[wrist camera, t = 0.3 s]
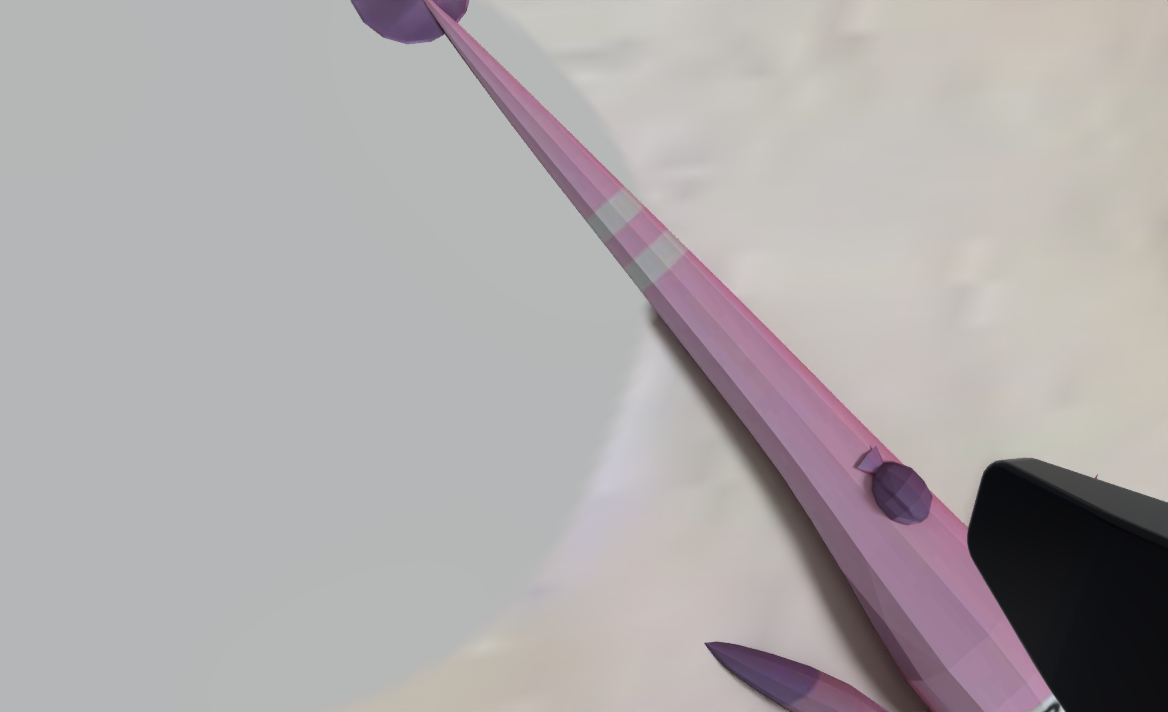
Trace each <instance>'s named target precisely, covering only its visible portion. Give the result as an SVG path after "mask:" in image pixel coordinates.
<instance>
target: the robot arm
mask: <svg viewBox="0 0 1168 712" xmlns="http://www.w3.org/2000/svg"><path fill="white" fill-rule="evenodd" d="M967 545H968V550H969V553H970V556H971V558H972V560H973V562H974V564H975V566H976V567H977V569H978V571H979V572H980V574H981V576H982V577H983V579H984V581H985V583H986V584H987V586H988V588H989V589H990V591H991V593H992V594H993V596H994V598H995V599H996V601H997V603H998V605H999V606H1000V608H1001V610H1002V611H1003V613H1004V615H1005V616H1006V618H1007V620H1008V621H1009V623H1010V625H1011V626H1012V628H1013V630H1014V632H1015V633H1016V635H1017V637H1018V638H1019V640H1020V642H1021V643H1022V645H1023V647H1024V648H1025V650H1026V652H1027V654H1028V655H1029V657H1030V659H1031V660H1032V662H1033V664H1034V665H1035V667H1036V669H1037V670H1038V672H1039V673H1040V675H1041V677H1042V678H1043V680H1044V681H1045V683H1046V685H1047V686H1048V688H1049V689H1050V691H1051V692H1052V694H1053V695H1054V697H1055V698H1056V700H1057V701H1058V702H1059V704H1060V705H1061V707H1062V708H1063V710H1064V711H1065V712H1168V502H1165V501H1161V500H1158V499H1155V498H1152V497H1149V496H1146V495H1143V494H1140V493H1137V492H1134V491H1131V490H1128V489H1125V488H1122V487H1119V486H1116V485H1113V484H1110V483H1107V482H1104V481H1101V480H1098V479H1095V478H1092V477H1089V476H1086V475H1083V474H1080V473H1077V472H1074V471H1071V470H1068V469H1065V468H1062V467H1059V466H1056V465H1053V464H1050V463H1047V462H1044V461H1041V460H1038V459H1034V458H1017V459H1007V460H999V461H995V462H993V463H991V464H990V465H989V466H988V467H987V468H986V470H985V471H984V473H983V476H982V479H981V482H980V486H979V490H978V493H977V497H976V501H975V505H974V508H973V512H972V516H971V520H970V523H969V527H968V532H967Z"/></svg>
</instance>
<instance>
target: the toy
mask: <svg viewBox="0 0 1168 712" xmlns="http://www.w3.org/2000/svg"><path fill="white" fill-rule="evenodd" d="M351 3H352V4H353V6H354V8H355V9H356V11H357V13H358V14H359V16H360V18H361V19H362V21H363V23H365V24H366V25H368V26H369V27H370V28H371V29H373V30H374V31H375V32H376V33H378V34H379V35H381V36H382V37H383V38H386V39H390V40H393V41H397V42H400V43H404V44H416V43H425V42H432V41H434V40H435V39H437V38H439V37H441V36H443V35H444V34H445V35H446V37H447V38H448V39H449V41H450V42H451V43H452V45H453V46H454V48H455V49H456V50H457V52H458V53H459V54H460V56H461V57H462V59H463V60H464V61H465V63H466V64H467V65H468V67H469V68H470V70H471V71H472V72H473V74H474V75H475V76H476V78H477V79H478V80H479V82H480V83H481V84H482V86H483V87H484V88H485V90H486V91H487V92H488V94H489V95H490V97H491V98H492V99H493V100H494V102H495V103H496V105H497V106H498V107H499V109H500V110H501V111H502V113H503V114H504V115H505V116H506V118H507V119H508V121H509V122H510V123H511V125H512V126H513V127H514V128H515V130H516V131H517V132H518V134H519V135H520V136H521V138H522V139H523V140H524V142H525V143H526V144H527V145H528V147H529V148H530V149H531V151H532V152H533V153H534V155H535V156H536V157H537V158H538V160H539V161H540V163H541V164H542V165H543V166H544V168H545V169H546V170H547V172H548V173H549V174H550V175H551V177H552V178H553V179H554V180H555V182H556V183H557V184H558V186H559V187H560V188H561V189H562V191H563V192H564V193H565V194H566V196H567V197H568V198H569V200H570V201H571V202H572V203H573V205H574V206H575V207H576V209H577V210H578V211H579V213H580V214H581V215H582V216H583V218H584V219H585V220H586V221H587V223H588V224H589V225H590V227H591V228H592V229H593V230H594V231H595V233H596V234H597V236H598V237H599V238H600V239H601V241H602V242H603V243H604V244H605V246H606V247H607V248H608V250H609V251H610V252H611V253H612V254H613V256H614V257H615V258H616V260H617V261H618V262H619V263H620V265H621V266H622V267H623V269H624V270H625V271H626V273H627V274H628V275H629V276H630V278H631V279H632V280H633V281H634V283H635V284H636V285H637V286H638V288H639V289H640V291H641V292H642V293H643V294H644V296H645V297H646V298H647V300H648V301H649V302H650V303H651V305H652V306H653V307H654V309H655V310H656V311H657V312H658V314H659V315H660V316H661V318H662V319H663V320H664V321H665V323H666V324H667V325H668V327H669V328H670V329H671V330H672V332H673V333H674V334H675V336H676V337H677V338H678V339H679V341H680V342H681V343H682V345H683V346H684V347H685V348H686V350H687V351H688V352H689V354H690V355H691V356H692V357H693V359H694V360H695V361H696V363H697V364H698V365H699V366H700V368H701V369H702V370H703V372H704V373H705V374H706V375H707V377H708V378H709V379H710V381H711V382H712V383H713V384H714V386H715V387H716V388H717V390H718V391H719V392H720V393H721V395H722V396H723V397H724V399H725V400H726V401H727V403H728V404H729V405H730V406H731V408H732V409H733V410H734V412H735V413H736V414H737V416H738V417H739V418H740V420H741V421H742V422H743V423H744V425H745V426H746V427H747V429H748V430H749V431H750V433H751V434H752V435H753V437H754V438H755V439H756V441H757V442H758V443H759V445H760V446H761V448H762V449H763V450H764V452H765V453H766V454H767V456H768V457H769V458H770V460H771V461H772V463H773V464H774V465H775V467H776V468H777V469H778V471H779V472H780V473H781V475H782V476H783V478H784V479H785V481H786V482H787V484H788V485H789V487H790V488H791V490H792V492H793V493H794V495H795V496H796V498H797V499H798V501H799V502H800V504H801V505H802V507H803V508H804V510H805V512H806V513H807V515H808V516H809V518H810V519H811V521H812V522H813V524H814V526H815V527H816V529H817V531H818V532H819V534H820V536H821V537H822V539H823V540H824V542H825V544H826V545H827V547H828V549H829V550H830V552H831V554H832V555H833V557H834V559H835V560H836V562H837V563H838V565H839V567H840V568H841V570H842V572H843V574H844V575H845V577H846V579H847V581H848V582H849V584H850V586H851V587H852V589H853V591H854V593H855V594H856V596H857V598H858V600H859V601H860V603H861V605H862V607H863V608H864V610H865V612H866V614H867V615H868V617H869V619H870V621H871V622H872V624H873V626H874V627H875V629H876V631H877V632H878V634H879V636H880V637H881V639H882V641H883V642H884V644H885V646H886V647H887V649H888V651H889V652H890V654H891V656H892V657H893V659H894V661H895V663H896V664H897V666H898V668H899V669H900V671H901V673H902V674H903V676H904V678H905V679H906V681H907V682H908V683H909V684H910V686H911V687H912V688H913V689H914V690H915V692H916V693H917V694H918V695H919V696H920V698H921V699H922V700H923V701H924V702H925V704H926V705H927V706H928V707H929V708H930V710H931V711H932V712H1065V711H1064V710H1063V708H1062V707H1061V705H1060V704H1059V702H1058V701H1057V700H1056V698H1055V697H1054V695H1053V694H1052V692H1051V691H1050V689H1049V688H1048V686H1047V685H1046V683H1045V681H1044V680H1043V678H1042V677H1041V675H1040V673H1039V672H1038V670H1037V669H1036V667H1035V665H1034V664H1033V662H1032V660H1031V659H1030V657H1029V655H1028V654H1027V652H1026V650H1025V648H1024V647H1023V645H1022V643H1021V642H1020V640H1019V638H1018V637H1017V635H1016V633H1015V632H1014V630H1013V628H1012V626H1011V625H1010V623H1009V621H1008V620H1007V618H1006V616H1005V615H1004V613H1003V611H1002V610H1001V608H1000V606H999V605H998V603H997V601H996V599H995V598H994V596H993V594H992V593H991V591H990V589H989V588H988V586H987V584H986V583H985V581H984V579H983V577H982V576H981V574H980V572H979V571H978V569H977V567H976V566H975V564H974V562H973V560H972V558H971V556H970V553H969V550H968V545H967V532H968V527H967V526H966V525H965V524H964V523H963V522H962V521H960V520H959V519H958V518H957V517H956V516H955V515H954V514H953V513H952V512H951V511H950V510H949V509H948V508H947V507H946V506H945V505H944V504H943V503H942V502H941V501H940V500H939V499H938V498H937V497H936V496H935V495H934V494H933V493H932V492H931V491H930V490H929V489H928V487H927V485H926V484H925V482H924V480H923V479H922V478H921V477H920V476H919V475H918V474H917V473H916V472H915V471H914V470H913V469H912V468H910V467H908V466H905V465H903V464H902V463H901V462H900V461H899V460H898V459H897V458H896V457H895V456H894V455H893V454H892V453H891V452H890V451H889V450H888V449H887V448H886V447H885V446H884V445H883V444H882V443H881V442H880V441H879V440H878V439H877V438H876V437H875V436H874V435H873V434H872V433H871V432H870V431H869V430H868V429H867V428H866V427H865V426H864V425H863V424H862V423H861V422H860V421H859V420H858V419H857V418H856V417H855V416H854V415H853V414H852V413H851V412H850V411H849V410H848V409H847V408H846V407H845V406H844V405H843V404H842V403H841V402H840V401H839V400H838V399H837V398H836V397H835V396H834V395H833V394H832V393H831V392H830V391H829V390H828V389H827V388H826V387H825V386H824V384H823V383H822V382H821V381H820V380H819V379H818V378H817V377H816V376H815V375H814V374H813V373H812V372H811V371H810V370H809V369H808V368H807V367H806V366H805V365H804V364H803V363H802V362H801V361H800V360H799V359H798V358H797V357H796V356H795V355H794V354H793V353H792V352H791V351H790V350H789V349H788V348H787V347H786V346H785V345H784V344H783V343H782V342H781V341H780V340H779V339H778V338H777V337H776V336H775V335H774V334H773V333H772V332H771V331H770V330H769V329H768V328H767V327H766V326H765V325H764V324H763V323H762V322H761V321H760V320H759V319H758V318H757V317H756V316H755V315H754V314H753V313H752V312H751V311H750V310H749V309H748V308H747V307H746V306H745V305H744V304H743V303H742V302H741V301H740V300H739V299H738V298H737V297H736V296H735V295H734V294H733V293H732V292H731V291H730V290H729V289H728V288H727V287H726V286H725V285H724V284H723V283H722V282H721V281H720V280H719V279H718V278H717V277H716V276H715V275H714V274H713V273H712V272H711V271H710V270H709V269H708V268H707V267H706V266H705V265H704V264H703V263H702V262H701V261H700V260H699V259H698V258H697V257H695V256H694V255H693V254H692V253H691V252H690V251H689V250H688V249H687V248H686V247H685V246H684V245H683V244H682V243H681V242H680V241H679V240H678V239H677V238H676V237H675V236H674V235H673V234H672V233H671V232H670V231H669V230H668V229H667V228H666V227H665V226H664V225H663V224H662V223H661V222H660V221H659V220H658V219H657V218H656V217H655V216H654V215H653V214H652V213H651V212H650V211H649V210H648V209H647V208H646V207H645V206H644V205H643V204H642V203H641V202H640V201H639V200H638V199H637V198H636V197H635V196H634V195H633V194H632V193H631V192H630V191H629V190H627V188H626V187H624V185H623V184H621V183H620V182H619V181H618V180H617V179H616V178H615V177H614V176H613V175H612V174H611V173H610V172H609V171H608V170H607V169H606V168H605V167H604V166H603V165H602V164H601V163H600V162H599V161H598V160H597V159H596V158H595V157H594V156H593V155H592V154H591V153H590V152H589V151H588V150H587V149H586V148H585V147H584V146H583V145H582V144H581V143H580V142H579V141H578V140H577V139H576V138H575V137H574V136H573V135H572V134H571V133H570V132H569V131H568V130H567V129H566V128H565V127H564V126H563V125H562V124H561V123H560V122H558V120H557V119H556V118H554V117H553V116H552V115H551V114H550V113H549V112H548V111H547V110H546V109H545V108H544V107H543V106H542V105H541V104H540V103H539V102H538V101H537V100H536V99H535V98H534V97H533V96H532V95H531V94H530V93H529V92H528V91H527V90H526V89H525V88H524V87H523V86H522V85H521V84H520V83H519V82H518V81H517V80H516V79H515V78H514V77H513V76H512V75H511V74H510V73H509V72H508V71H506V69H505V68H503V66H501V65H500V64H499V63H498V62H497V61H496V60H495V59H494V58H493V57H492V56H491V55H490V54H489V53H488V52H487V51H486V50H485V49H484V48H483V47H482V46H481V45H480V44H479V43H478V42H477V41H476V40H475V39H474V38H473V37H471V35H469V34H468V33H467V32H466V31H465V30H464V29H463V28H462V27H461V26H460V25H459V24H458V22H459V21H460V19H461V18H462V17H463V15H464V14H465V13H466V11H467V7H468V3H469V0H351ZM1097 475H1098V474H1097ZM1095 479H1097V476H1096V477H1095ZM705 645H706V646H707V647H708V649H709V650H710V651H711V653H712V654H713V655H714V656H715V657H716V658H717V659H718V660H719V661H720V662H721V663H722V664H723V665H724V666H726V667H727V668H728V669H729V670H730V671H732V672H733V673H734V674H736V675H737V676H738V677H740V678H741V679H742V680H744V681H745V682H746V683H748V684H749V685H750V686H752V687H753V688H755V689H756V690H758V691H759V692H761V693H763V694H764V695H766V696H767V697H769V698H771V699H772V700H774V701H776V702H777V703H779V704H781V705H782V706H784V707H786V708H787V709H789V710H790V711H792V712H888V711H887V710H886V709H884V708H883V707H881V706H880V705H878V704H877V703H875V702H874V701H873V700H871V699H870V698H868V697H867V696H865V695H864V694H862V693H861V692H860V691H858V690H857V689H855V688H854V687H852V686H851V685H849V684H847V683H845V682H843V681H841V680H838V679H836V678H834V677H832V676H830V675H828V674H826V673H823V672H821V671H819V670H817V669H815V668H813V667H810V666H807V665H804V664H801V663H798V662H795V661H792V660H789V659H786V658H783V657H780V656H777V655H774V654H770V653H766V652H763V651H759V650H755V649H751V648H747V647H744V646H740V645H735V644H730V643H723V642H710V643H705Z"/></svg>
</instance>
